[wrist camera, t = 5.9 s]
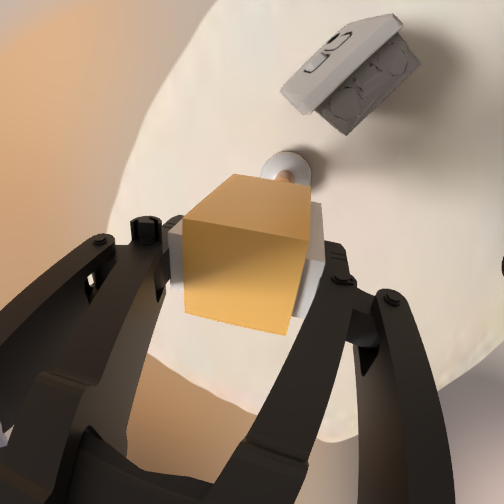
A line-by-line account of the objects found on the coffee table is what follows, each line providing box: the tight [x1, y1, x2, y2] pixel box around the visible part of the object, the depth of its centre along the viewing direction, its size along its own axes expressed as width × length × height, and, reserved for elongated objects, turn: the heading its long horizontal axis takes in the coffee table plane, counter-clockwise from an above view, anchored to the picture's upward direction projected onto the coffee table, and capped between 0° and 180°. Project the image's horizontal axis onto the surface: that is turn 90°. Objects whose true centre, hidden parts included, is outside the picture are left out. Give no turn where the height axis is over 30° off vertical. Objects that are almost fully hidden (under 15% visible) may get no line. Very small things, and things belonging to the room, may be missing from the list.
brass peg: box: [274, 170, 295, 183], centre depth 21 cm, size 2×2×6 cm
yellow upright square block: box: [182, 174, 311, 336], centre depth 13 cm, size 4×4×7 cm
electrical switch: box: [280, 14, 421, 136], centre depth 16 cm, size 9×5×9 cm, turn 141°
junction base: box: [260, 151, 311, 186], centre depth 24 cm, size 4×4×2 cm
